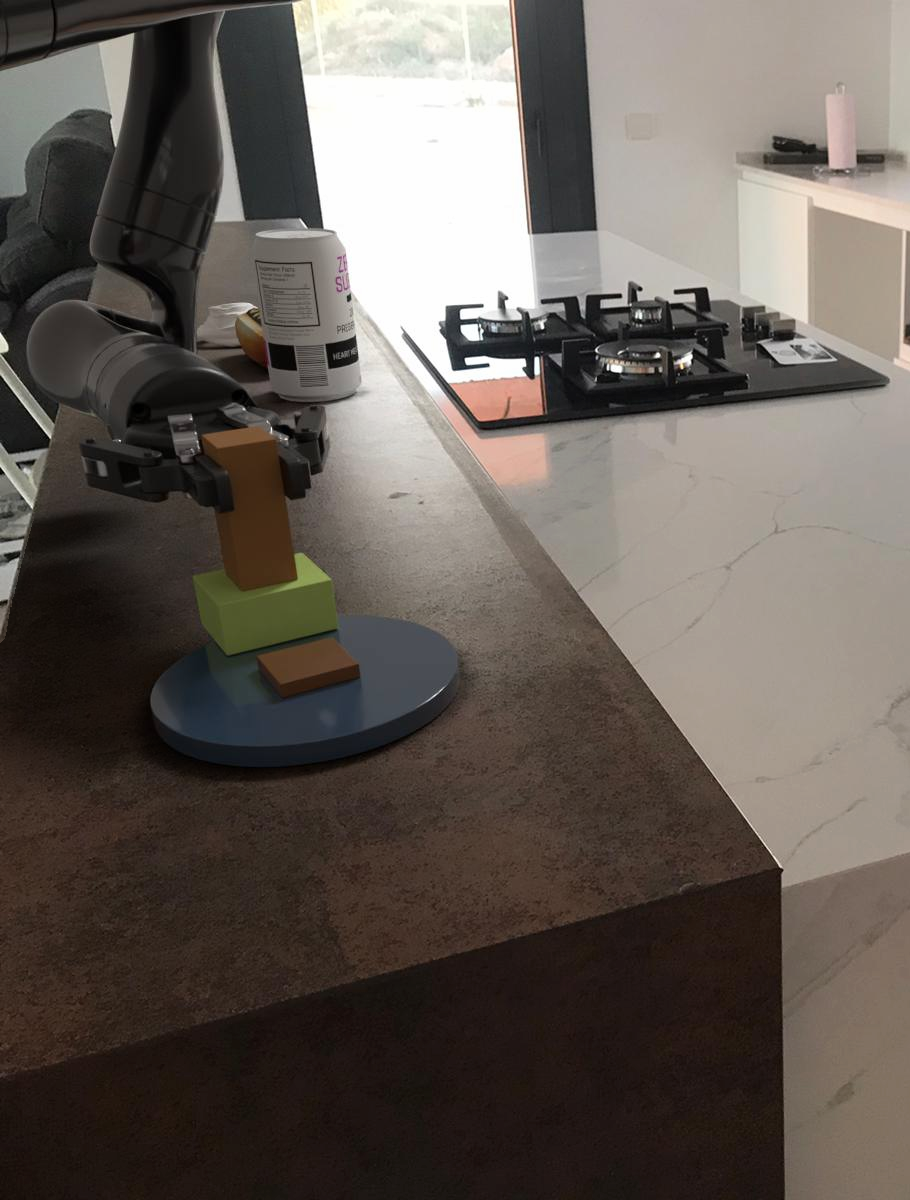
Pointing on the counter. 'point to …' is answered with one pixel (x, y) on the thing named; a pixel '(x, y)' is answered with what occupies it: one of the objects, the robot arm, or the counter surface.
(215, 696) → the plate
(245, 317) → the golden brown half oval
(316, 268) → the supplement can
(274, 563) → the sponge brush
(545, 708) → the counter surface
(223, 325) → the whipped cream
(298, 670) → the food crust
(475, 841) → the counter surface
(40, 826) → the counter surface
